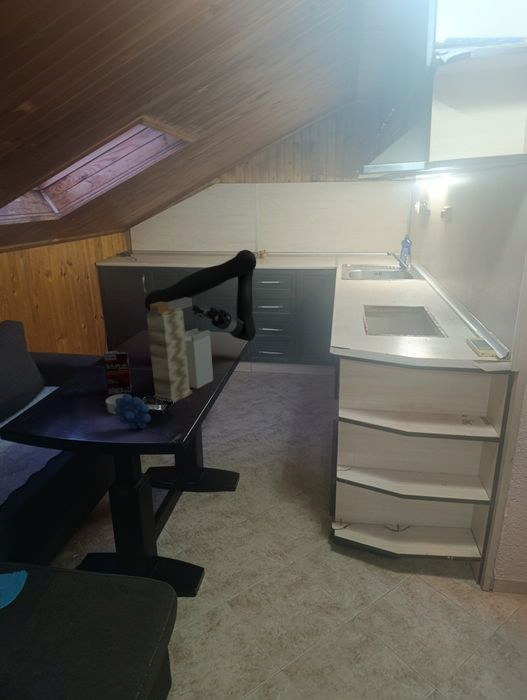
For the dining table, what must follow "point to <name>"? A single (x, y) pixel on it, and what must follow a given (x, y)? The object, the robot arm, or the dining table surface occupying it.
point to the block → (169, 305)
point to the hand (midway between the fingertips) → (201, 308)
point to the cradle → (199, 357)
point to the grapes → (132, 411)
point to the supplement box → (117, 371)
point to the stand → (169, 354)
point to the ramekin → (113, 402)
